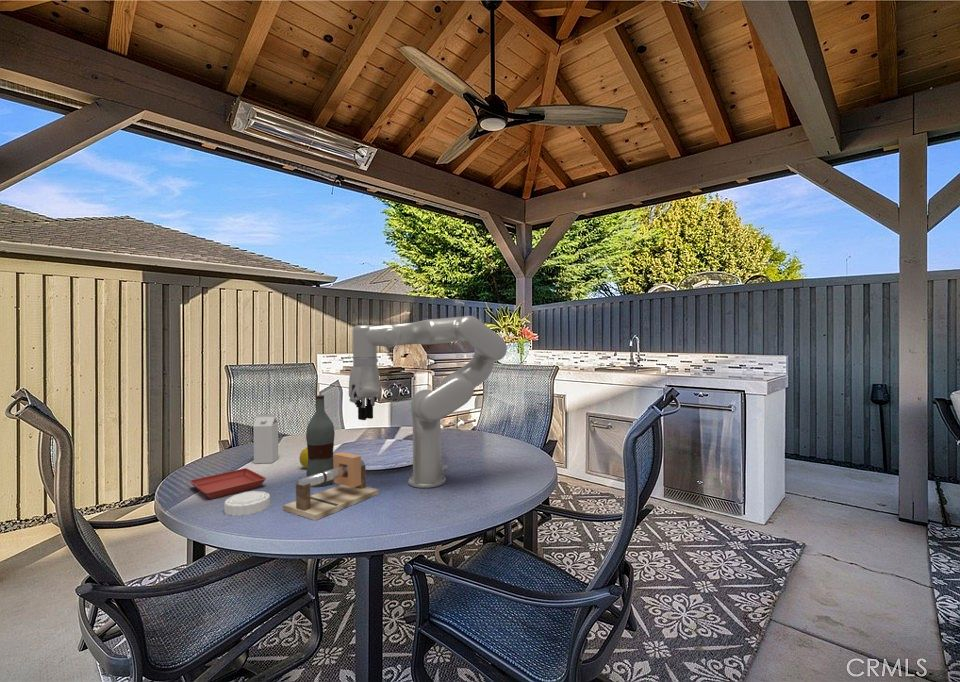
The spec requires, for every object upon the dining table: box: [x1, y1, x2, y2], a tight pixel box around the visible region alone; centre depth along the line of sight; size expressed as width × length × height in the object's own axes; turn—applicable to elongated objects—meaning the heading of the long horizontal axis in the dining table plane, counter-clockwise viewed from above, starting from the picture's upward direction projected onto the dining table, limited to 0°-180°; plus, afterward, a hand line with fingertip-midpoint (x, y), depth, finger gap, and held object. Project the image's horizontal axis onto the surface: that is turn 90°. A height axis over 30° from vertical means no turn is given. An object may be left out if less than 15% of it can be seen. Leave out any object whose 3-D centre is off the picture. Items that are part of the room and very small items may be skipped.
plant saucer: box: [189, 467, 267, 500], centre depth 150 cm, size 18×18×3 cm
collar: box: [333, 451, 362, 487], centre depth 141 cm, size 3×9×9 cm, turn 58°
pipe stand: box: [282, 465, 380, 522], centre depth 136 cm, size 24×14×8 cm, turn 148°
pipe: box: [296, 459, 366, 490], centre depth 136 cm, size 23×3×3 cm, turn 148°
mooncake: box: [223, 490, 271, 517], centre depth 132 cm, size 12×12×4 cm
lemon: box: [299, 447, 308, 469], centre depth 172 cm, size 6×6×8 cm
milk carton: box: [253, 413, 279, 465], centre depth 182 cm, size 7×7×19 cm
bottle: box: [305, 394, 336, 488], centre depth 154 cm, size 9×9×30 cm
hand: (365, 418), depth 147 cm, fingers closed
